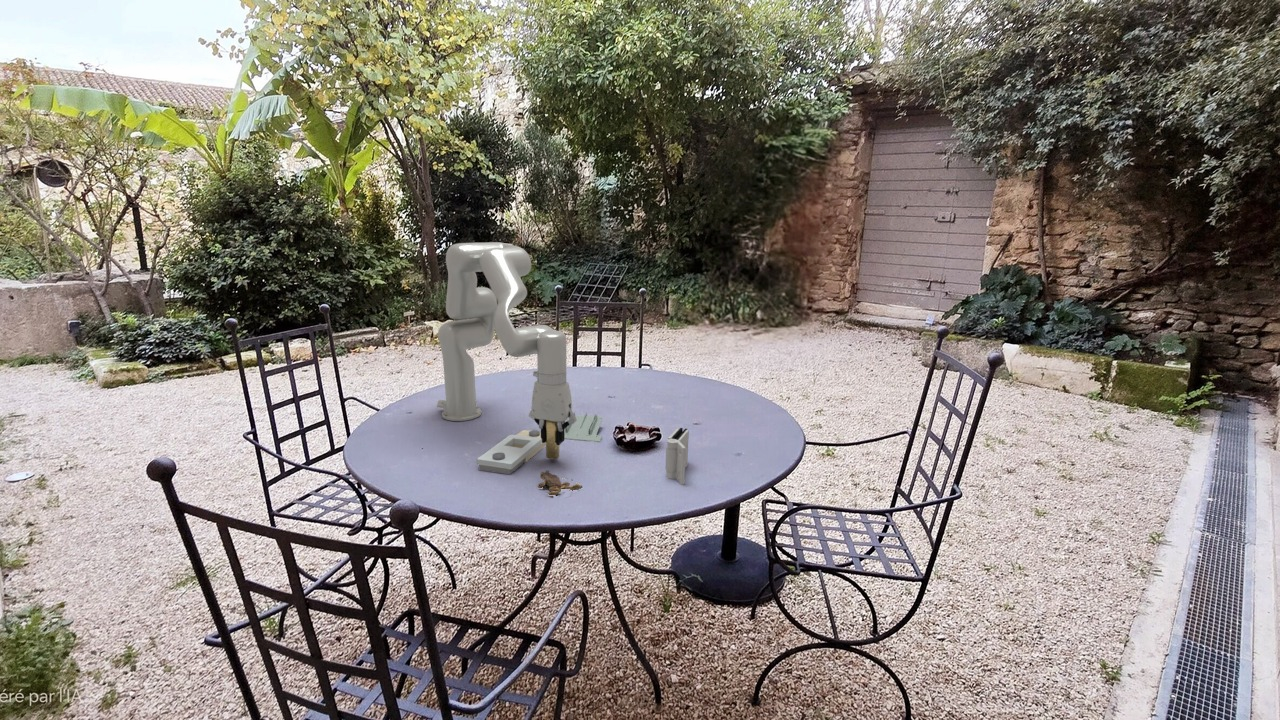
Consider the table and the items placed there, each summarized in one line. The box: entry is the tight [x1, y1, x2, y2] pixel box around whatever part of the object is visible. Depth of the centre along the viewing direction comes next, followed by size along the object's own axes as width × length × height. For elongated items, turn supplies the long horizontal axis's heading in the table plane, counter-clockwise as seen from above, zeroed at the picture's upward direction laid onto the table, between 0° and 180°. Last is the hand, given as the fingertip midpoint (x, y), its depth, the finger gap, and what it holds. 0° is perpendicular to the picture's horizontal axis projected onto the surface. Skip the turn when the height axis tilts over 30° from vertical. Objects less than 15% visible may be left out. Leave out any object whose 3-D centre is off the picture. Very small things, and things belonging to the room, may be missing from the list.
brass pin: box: [545, 420, 560, 460], centre depth 159 cm, size 4×4×12 cm
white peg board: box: [476, 429, 546, 475], centre depth 165 cm, size 26×10×4 cm, turn 164°
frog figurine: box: [536, 470, 584, 495], centre depth 145 cm, size 12×12×4 cm
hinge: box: [665, 427, 690, 486], centre depth 154 cm, size 14×5×10 cm, turn 171°
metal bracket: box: [564, 412, 604, 444], centre depth 181 cm, size 14×6×15 cm
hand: (552, 441), depth 159 cm, fingers closed on brass pin, 3 cm apart
